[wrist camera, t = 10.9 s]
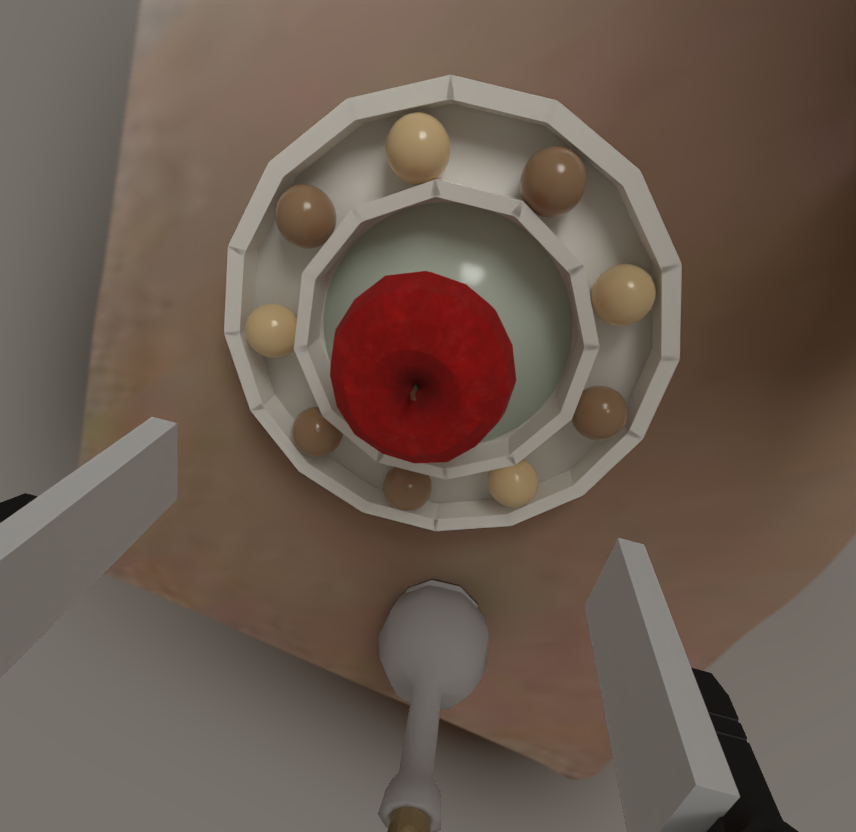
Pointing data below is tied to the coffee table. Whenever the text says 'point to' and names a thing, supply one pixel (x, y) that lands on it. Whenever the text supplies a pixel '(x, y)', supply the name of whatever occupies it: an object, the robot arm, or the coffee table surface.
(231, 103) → the coffee table surface
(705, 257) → the coffee table surface
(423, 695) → the potion bottle
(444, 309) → the apple
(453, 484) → the bead tray
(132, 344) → the coffee table surface
